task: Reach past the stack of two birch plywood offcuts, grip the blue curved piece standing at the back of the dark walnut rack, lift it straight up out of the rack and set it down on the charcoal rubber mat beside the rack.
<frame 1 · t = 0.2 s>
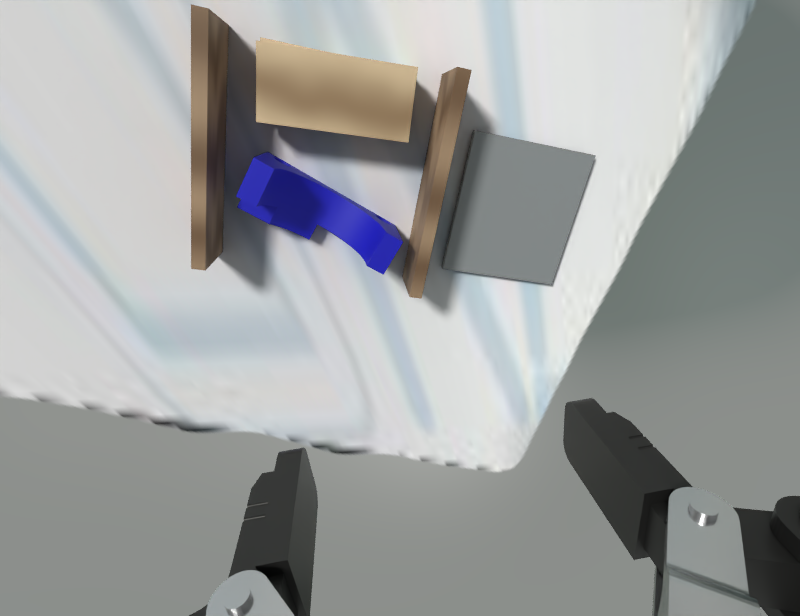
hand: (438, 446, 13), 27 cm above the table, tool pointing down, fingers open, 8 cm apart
blue curved piece: (322, 212, 37), on the table
rubber mat: (514, 212, 39), on the table
upper offcut: (337, 96, 32), point 1 cm above the table, touching lower offcut
walnut rack: (326, 167, 35), on the table
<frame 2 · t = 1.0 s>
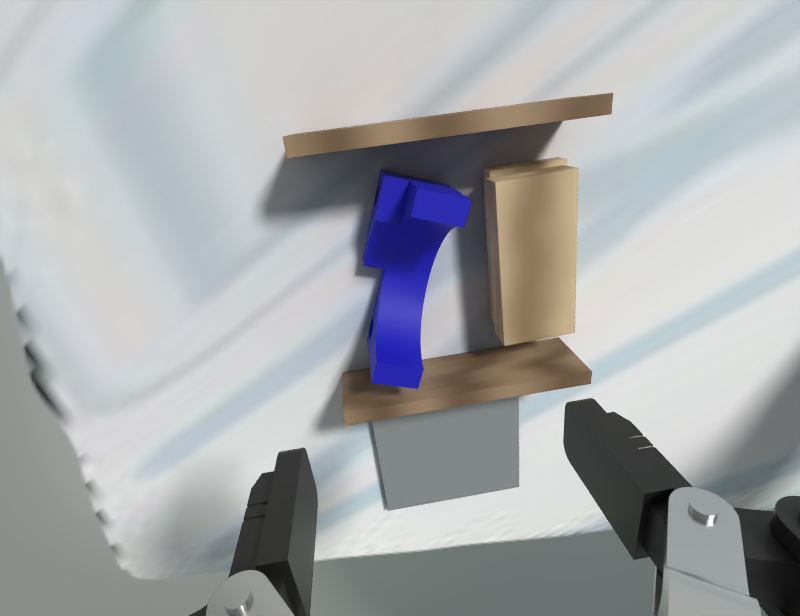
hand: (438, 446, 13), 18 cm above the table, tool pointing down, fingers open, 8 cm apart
blue curved piece: (394, 263, 30), on the table
rubber mat: (448, 446, 37), on the table
lower offcut: (518, 241, 31), on the table
upper offcut: (526, 255, 29), point 1 cm above the table
walnut rack: (444, 256, 30), on the table
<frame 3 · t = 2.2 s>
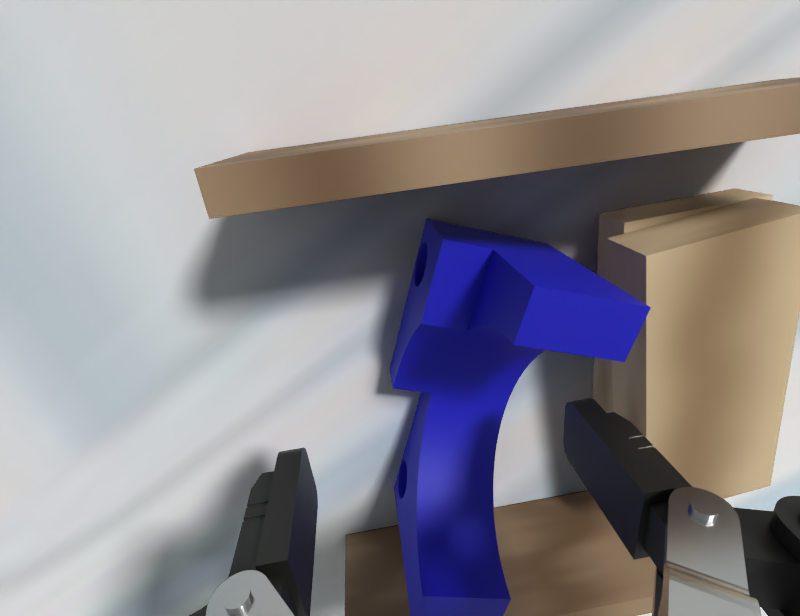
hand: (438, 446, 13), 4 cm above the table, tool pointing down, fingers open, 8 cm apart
blue curved piece: (442, 371, 17), on the table, touching gripper
lower offcut: (646, 330, 18), on the table, touching upper offcut
upper offcut: (676, 358, 16), point 1 cm above the table, touching lower offcut
walnut rack: (521, 359, 17), on the table
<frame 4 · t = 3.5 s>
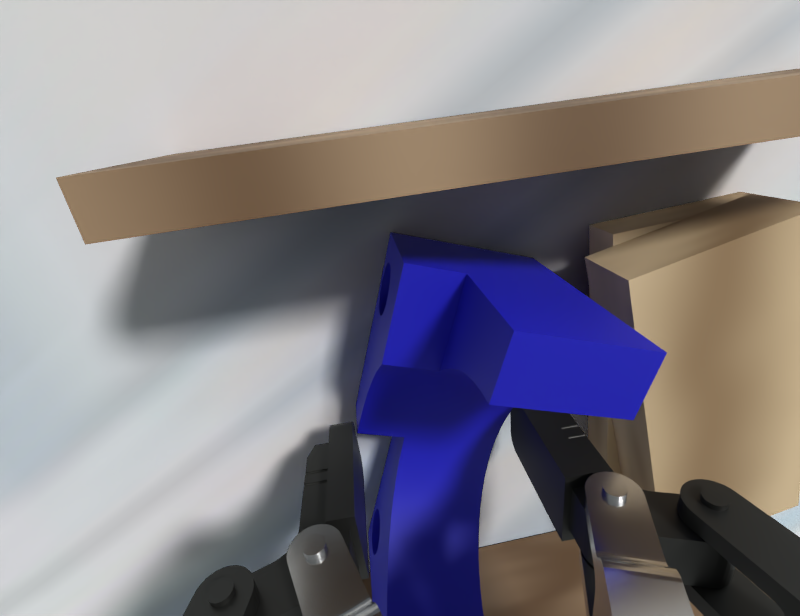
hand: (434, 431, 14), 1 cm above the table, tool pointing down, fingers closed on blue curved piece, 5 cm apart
blue curved piece: (418, 407, 15), on the table, touching gripper
lower offcut: (640, 347, 16), on the table
upper offcut: (678, 376, 14), point 1 cm above the table
walnut rack: (505, 387, 15), on the table
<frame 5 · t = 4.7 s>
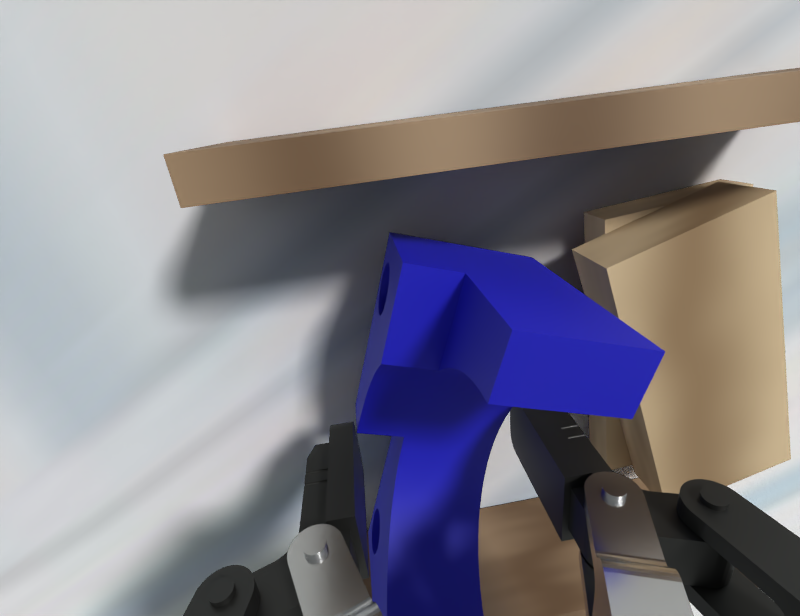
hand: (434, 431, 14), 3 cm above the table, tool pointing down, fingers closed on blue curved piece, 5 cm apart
blue curved piece: (418, 406, 15), point 2 cm above the table, touching gripper
lower offcut: (636, 324, 18), on the table
upper offcut: (670, 348, 16), point 1 cm above the table
walnut rack: (511, 356, 17), on the table
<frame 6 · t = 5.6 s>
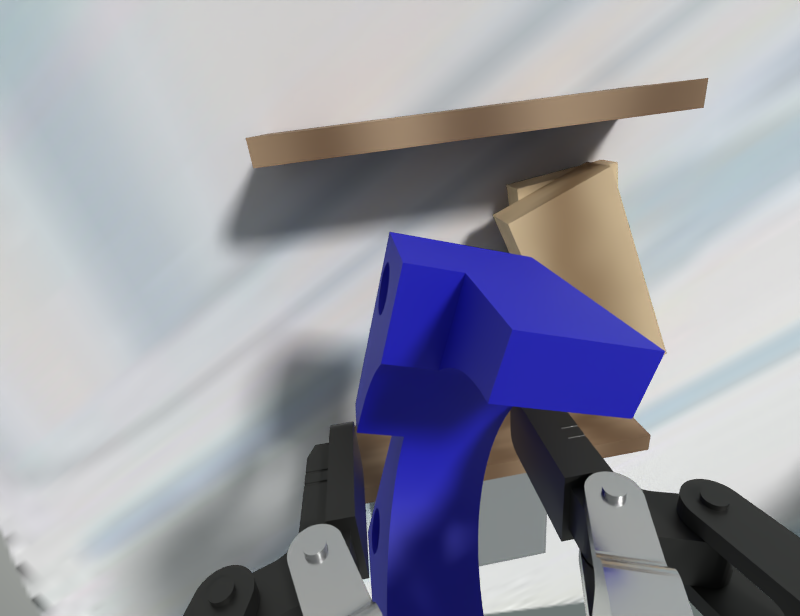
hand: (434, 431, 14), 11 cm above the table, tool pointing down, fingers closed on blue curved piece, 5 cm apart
blue curved piece: (418, 406, 15), point 9 cm above the table, touching gripper
rubber mat: (462, 510, 31), on the table
lower offcut: (556, 268, 24), on the table, touching upper offcut
upper offcut: (574, 281, 23), point 1 cm above the table, touching lower offcut
walnut rack: (463, 288, 24), on the table
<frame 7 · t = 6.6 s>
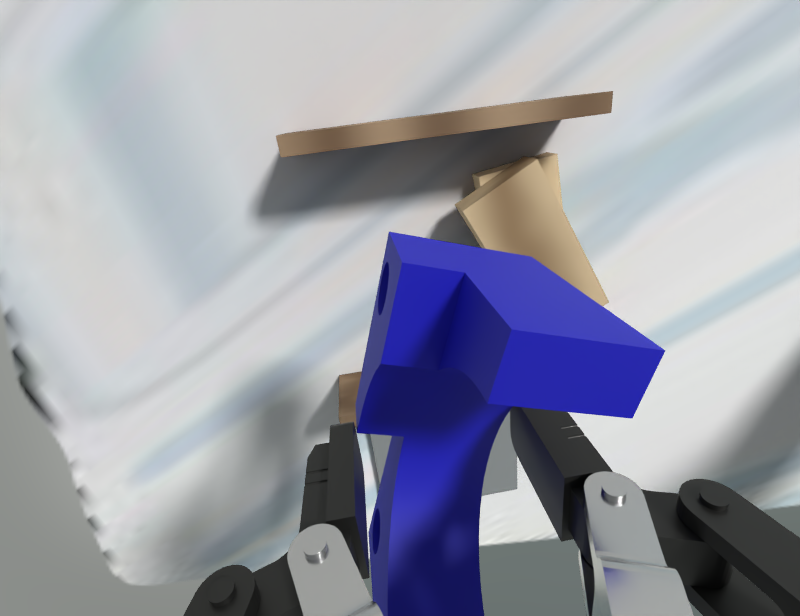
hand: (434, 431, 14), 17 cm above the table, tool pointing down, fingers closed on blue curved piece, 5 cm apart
blue curved piece: (418, 406, 15), point 15 cm above the table, touching gripper
rubber mat: (445, 449, 36), on the table
lower offcut: (518, 241, 30), on the table, touching upper offcut
upper offcut: (528, 250, 28), point 1 cm above the table, touching lower offcut
walnut rack: (441, 257, 29), on the table
when the fingers open (3 cm above the table, at t = 11.4 s): blue curved piece drops 1 cm, resting on rubber mat.
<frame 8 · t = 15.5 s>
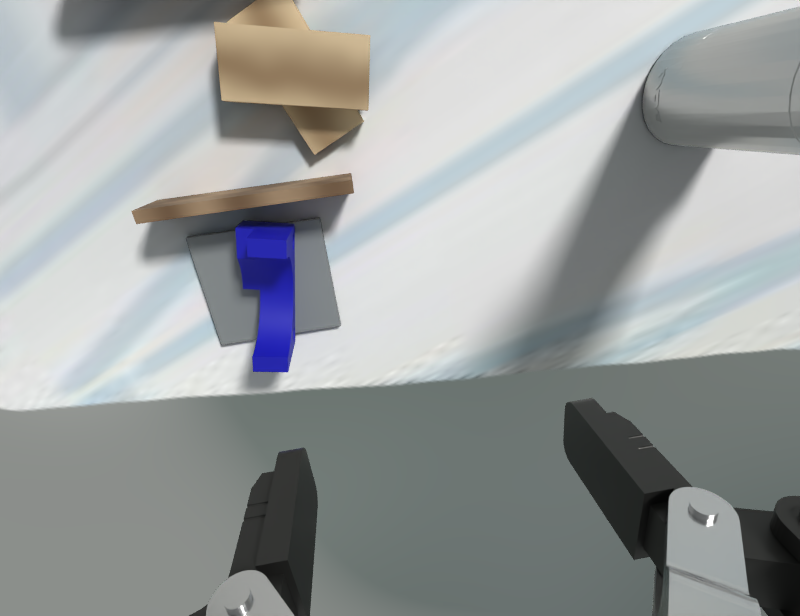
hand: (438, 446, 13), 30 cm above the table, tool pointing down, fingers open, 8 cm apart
blue curved piece: (271, 283, 41), resting on rubber mat
rubber mat: (269, 282, 41), on the table
lower offcut: (301, 77, 36), on the table
upper offcut: (298, 71, 34), point 1 cm above the table
walnut rack: (230, 85, 34), on the table
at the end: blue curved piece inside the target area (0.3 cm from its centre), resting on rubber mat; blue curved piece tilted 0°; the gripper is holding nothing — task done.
